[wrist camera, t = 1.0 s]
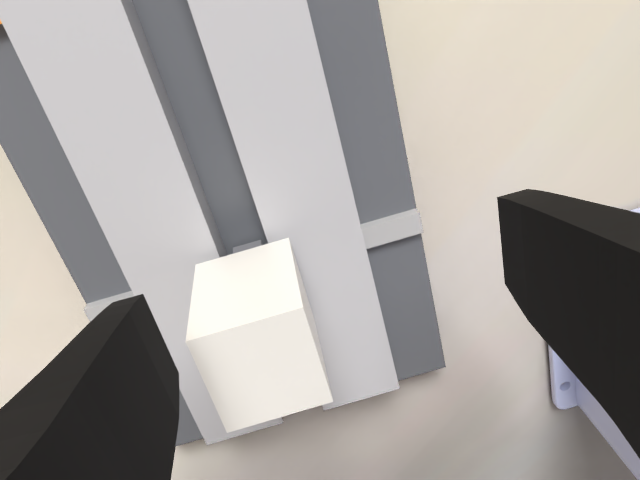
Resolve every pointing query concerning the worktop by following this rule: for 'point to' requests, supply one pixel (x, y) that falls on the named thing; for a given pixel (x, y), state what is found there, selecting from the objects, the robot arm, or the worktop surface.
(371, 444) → the worktop surface
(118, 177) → the fader console
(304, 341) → the fader knob
